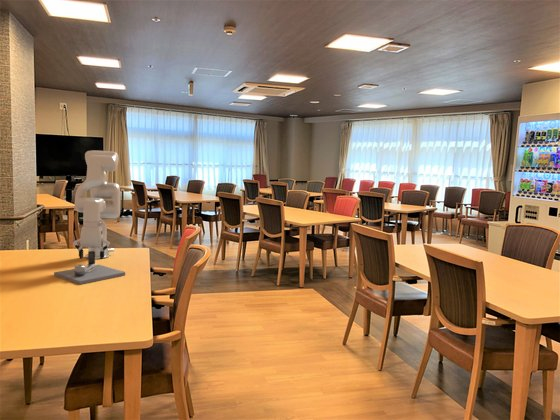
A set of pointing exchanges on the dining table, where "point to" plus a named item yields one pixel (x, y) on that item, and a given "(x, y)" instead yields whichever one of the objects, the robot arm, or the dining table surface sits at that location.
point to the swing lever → (82, 268)
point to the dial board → (90, 274)
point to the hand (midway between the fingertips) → (91, 258)
